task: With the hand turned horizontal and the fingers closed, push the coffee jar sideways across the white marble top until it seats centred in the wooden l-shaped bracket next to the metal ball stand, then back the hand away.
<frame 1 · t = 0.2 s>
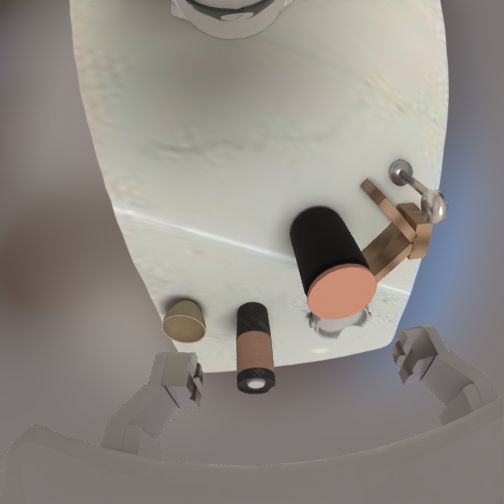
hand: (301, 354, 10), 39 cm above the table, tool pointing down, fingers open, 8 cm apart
travel mug: (252, 311, 66), on the table
wooden l-shaped bracket: (376, 223, 52), on the table
coffee jar: (316, 229, 53), on the table
metal ball stand: (399, 171, 45), on the table
flower pot: (187, 306, 64), on the table
dish: (336, 307, 67), on the table
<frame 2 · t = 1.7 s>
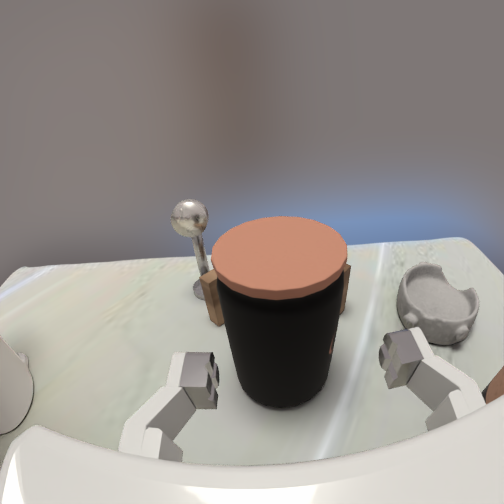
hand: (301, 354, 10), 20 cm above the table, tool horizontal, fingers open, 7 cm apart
travel mug: (469, 439, 17), on the table
wooden l-shaped bracket: (276, 302, 42), on the table
coffee jar: (283, 374, 31), on the table
metal ball stand: (208, 289, 46), on the table
dish: (431, 316, 35), on the table
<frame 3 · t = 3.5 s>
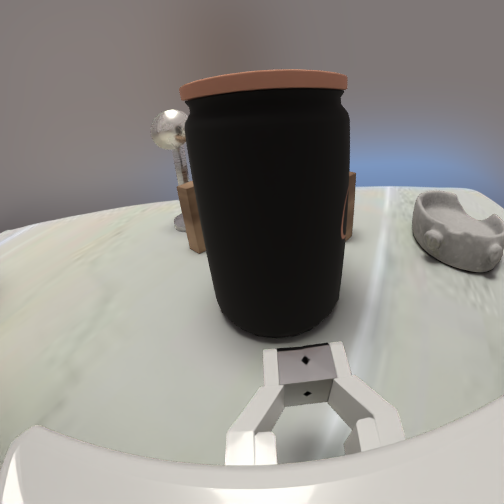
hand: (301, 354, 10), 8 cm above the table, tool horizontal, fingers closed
wooden l-shaped bracket: (270, 229, 36), on the table
coffee jar: (278, 299, 25), on the table
metal ball stand: (192, 223, 39), on the table
dish: (454, 247, 29), on the table
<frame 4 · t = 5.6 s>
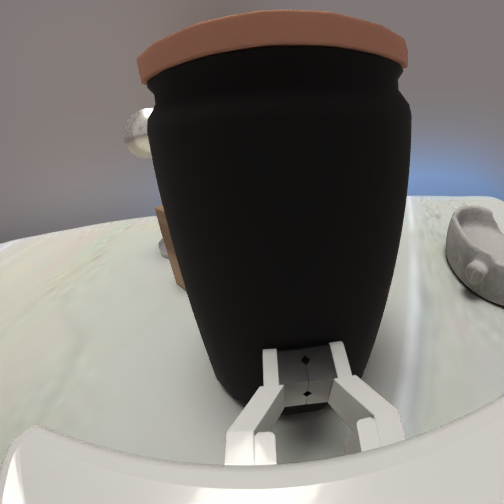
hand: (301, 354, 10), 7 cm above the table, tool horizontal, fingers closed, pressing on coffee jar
wooden l-shaped bracket: (276, 257, 29), on the table
coffee jar: (290, 355, 18), on the table, touching gripper
metal ball stand: (180, 247, 32), on the table
dish: (490, 274, 22), on the table
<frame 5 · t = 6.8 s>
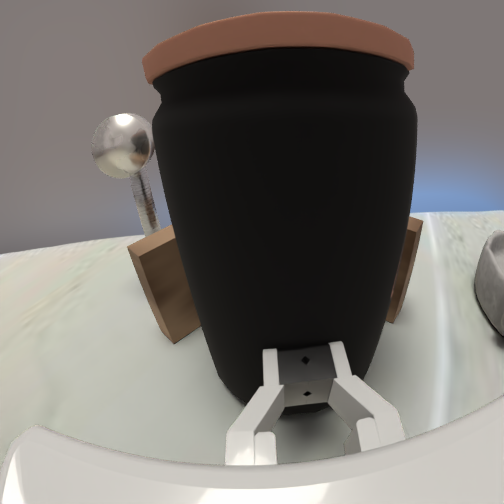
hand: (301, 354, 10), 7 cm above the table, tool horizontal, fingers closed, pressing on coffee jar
wooden l-shaped bracket: (281, 298, 23), on the table
coffee jar: (293, 355, 18), on the table, touching gripper
metal ball stand: (167, 279, 27), on the table
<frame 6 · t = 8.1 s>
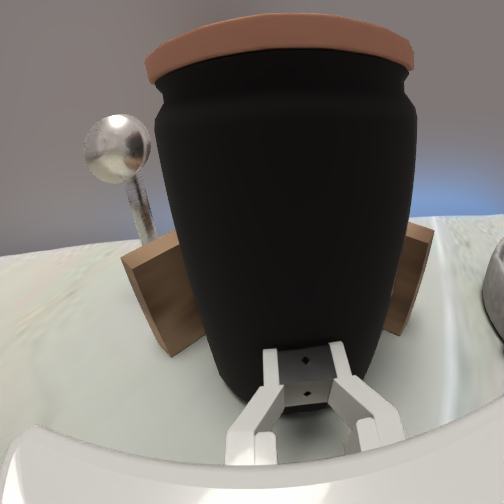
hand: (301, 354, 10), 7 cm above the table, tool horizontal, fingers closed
wooden l-shaped bracket: (283, 309, 22), on the table
coffee jar: (293, 354, 18), on the table
metal ball stand: (165, 287, 26), on the table
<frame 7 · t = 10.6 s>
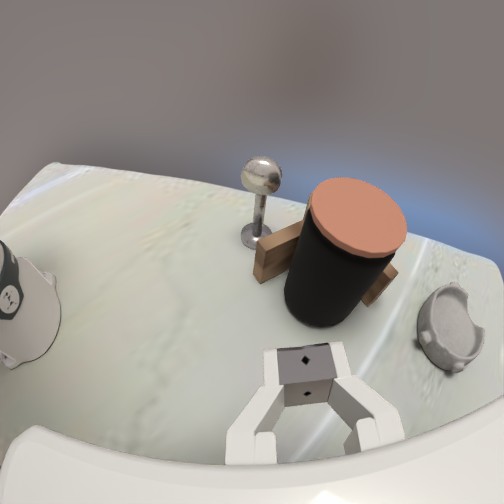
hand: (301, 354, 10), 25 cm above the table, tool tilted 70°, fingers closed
wooden l-shaped bracket: (318, 271, 43), on the table
coffee jar: (317, 297, 40), on the table
metal ball stand: (256, 237, 46), on the table
dish: (442, 334, 37), on the table
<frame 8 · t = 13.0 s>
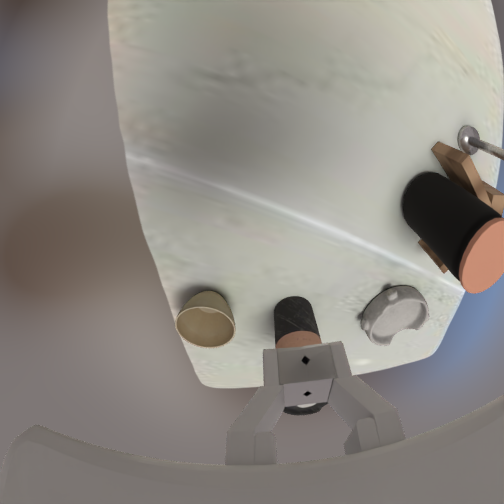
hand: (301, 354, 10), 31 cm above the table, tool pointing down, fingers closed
travel mug: (292, 309, 51), on the table
wooden l-shaped bracket: (445, 198, 38), on the table
coffee jar: (425, 199, 39), on the table
metal ball stand: (467, 139, 32), on the table
flower pot: (209, 299, 50), on the table
dish: (390, 306, 52), on the table
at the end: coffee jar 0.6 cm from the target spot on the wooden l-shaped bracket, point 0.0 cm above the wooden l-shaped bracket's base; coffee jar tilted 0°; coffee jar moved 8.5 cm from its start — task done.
